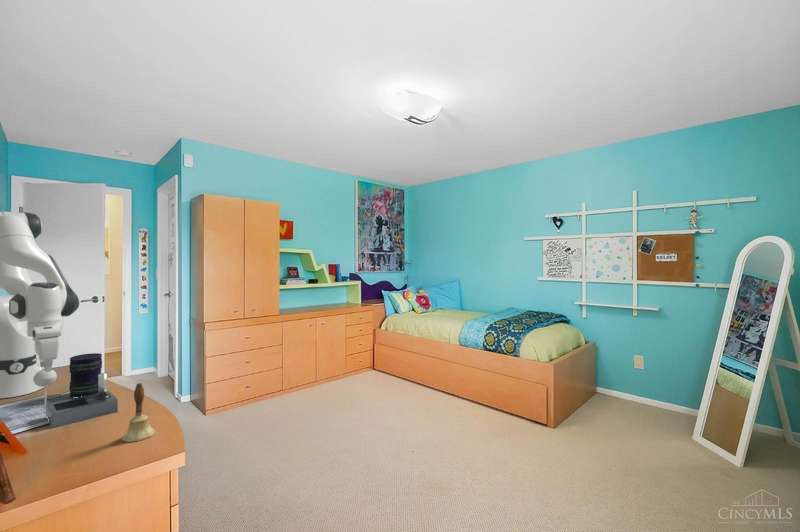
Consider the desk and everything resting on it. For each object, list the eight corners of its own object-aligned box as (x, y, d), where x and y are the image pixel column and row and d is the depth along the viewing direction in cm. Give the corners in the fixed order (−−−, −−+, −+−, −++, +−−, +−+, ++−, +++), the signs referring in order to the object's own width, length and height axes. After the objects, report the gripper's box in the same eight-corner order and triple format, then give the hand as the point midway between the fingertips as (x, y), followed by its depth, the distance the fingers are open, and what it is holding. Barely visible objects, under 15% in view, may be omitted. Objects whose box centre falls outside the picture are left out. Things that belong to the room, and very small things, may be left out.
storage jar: (79, 399, 139) (79, 360, 139) (63, 396, 142) (63, 358, 142) (108, 391, 148) (108, 354, 148) (91, 388, 151) (91, 352, 151)
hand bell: (118, 436, 111) (118, 384, 111) (150, 426, 118) (150, 377, 117) (126, 445, 106) (126, 390, 106) (159, 435, 112) (159, 383, 112)
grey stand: (51, 428, 116) (51, 388, 115) (45, 417, 123) (45, 379, 123) (117, 411, 129) (117, 375, 129) (108, 402, 136) (108, 368, 136)
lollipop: (60, 410, 129) (60, 368, 129) (38, 417, 124) (38, 372, 123) (51, 407, 131) (51, 366, 131) (29, 413, 126) (29, 370, 126)
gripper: (28, 327, 131) (29, 365, 131) (36, 334, 118) (37, 376, 118) (53, 325, 136) (53, 362, 136) (62, 331, 123) (63, 372, 123)
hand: (45, 369), depth 127 cm, fingers open, 8 cm apart
